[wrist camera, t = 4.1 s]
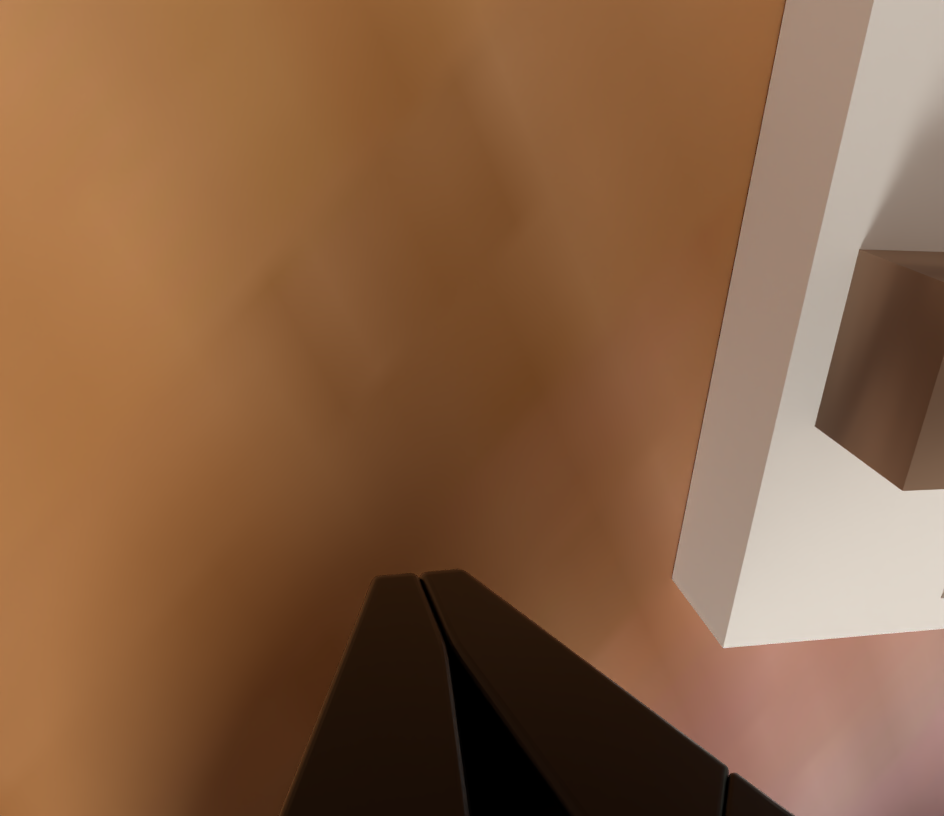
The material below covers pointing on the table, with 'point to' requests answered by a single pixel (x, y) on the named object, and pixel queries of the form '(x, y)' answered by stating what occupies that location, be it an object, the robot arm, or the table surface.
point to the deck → (819, 341)
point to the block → (891, 369)
